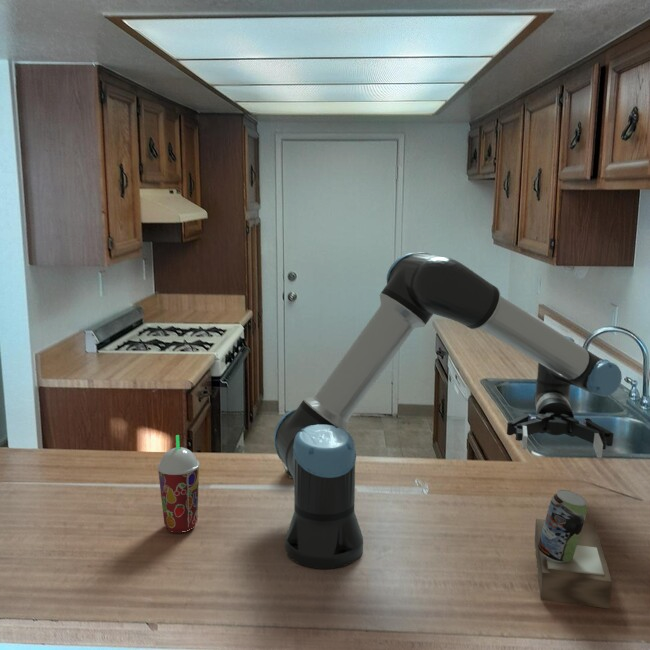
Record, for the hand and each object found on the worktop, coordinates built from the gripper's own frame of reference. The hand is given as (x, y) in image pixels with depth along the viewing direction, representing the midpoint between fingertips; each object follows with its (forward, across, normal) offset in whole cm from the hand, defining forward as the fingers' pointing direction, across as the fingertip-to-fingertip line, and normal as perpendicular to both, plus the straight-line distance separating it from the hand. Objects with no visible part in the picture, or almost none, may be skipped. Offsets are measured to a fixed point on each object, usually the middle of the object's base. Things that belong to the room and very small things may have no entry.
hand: (562, 447), depth 128 cm
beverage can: (+13, 0, -16) cm, 21 cm away
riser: (+8, -2, -21) cm, 23 cm away
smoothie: (+11, +74, -23) cm, 78 cm away
